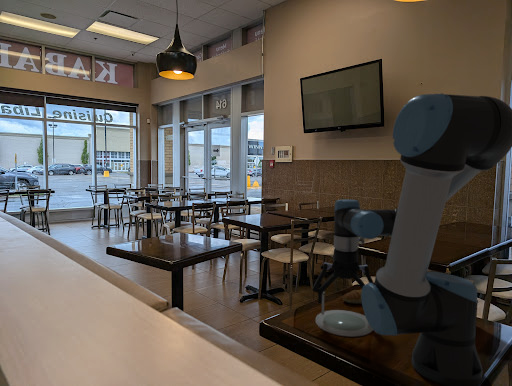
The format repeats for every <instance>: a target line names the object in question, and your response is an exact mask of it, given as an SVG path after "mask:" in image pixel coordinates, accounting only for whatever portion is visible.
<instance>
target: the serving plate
mask: <svg viewBox="0 0 512 386" xmlns="http://www.w3.org/2000/svg"><path fill="white" fill-rule="evenodd" d="M315 324H316V325H317V327H318V328H319V329H321V330H323V332H327V333H329V334H332V335H336V336H342V337H351V338H353V337H362V336H366V335H369V334H371V333H372V332H373V331H374V330H373V329H372V327H371V326H370V325H369V323H368V321H367V319H366V318H365V314H362V313H359V312H354V311H350V310H343V309H342V310H341V309H332V310H331V309H330V310H324V315H322V312H320V313H318V314H317V315H316V317H315Z"/></svg>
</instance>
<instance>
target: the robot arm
mask: <svg viewBox="0 0 512 386" xmlns="http://www.w3.org/2000/svg"><path fill="white" fill-rule="evenodd" d="M395 118H396V119H395V121H394V125H393V129H392V139H393V140H394V141H393V143H392V144H393V146H394V148H395V151H396V152H397V153H398V154H400V159H399V160H400V163H401V164H402V165H403V167H404V168H405V171H404V173H405V174H404V177H403V181H402V187H401V191H400V196H399V201H398V206H397V208H393V209H392V208H390V209H385V208H384V209H361V207H360V201H359V200H357V199H343V198H342V199H337V200H336V201H335V203H334V211H333V213H334V217H333V218H334V223H333V224H334V225H333V228H334V229H333V232H334V233H333V248H334V249H333V262H332V263H330V262H329V263H328V262H327V261H324V262H323V265H322V269H321V271H320V273H319V275H318V276H317V278H316V280H315V282H314V284H313V285H312V286H313V287H312V291H313V292H314V293H317V296H318V298H317V303H318V304H321V313H322V315H324V312H325V291H326V290H327V289H328V288H329V286H331V285H332V284H333V282H334V281H335V280H337V279H338V278H339V279H341V280H342V279H348V280H351V279H354V281H355V282H356V283H357V284H358V285H359V286H360V288H361V289H362V293H361V299H362V303H361V305H362V309H363V313H364V316H365V318H366V319H367V321H368V323H369V325H370V326H371V327H372V329H373V331H374V332H375V333H376V334H378V335H379V336H380V335H381V336H393V337H395V336H399V335H411V334H419V336H418V338H417V341H416V344H415V346H414V347H413V350H412V353H411V365H412V367H413V368H414V370H415V371H416V373H417V372H418V374H419V375H421V376H422V377H424V378H426V379H427V380H429V381H432V382H434V383H437V384H440V385H443V386H479V385H480V384H481V383H482V382H483V366H482V363H481V360H480V357H479V354H478V350H477V347H476V334H477V331H476V329H477V316H478V315H477V314H478V303H479V300H478V288H477V286H476V284H475V283H474V284H473V283H472V282H470V281H468V280H469V279H467V278H463V277H460V276H457V275H455V274H454V275H453V274H450V273H445V272H439V271H429V270H428V269H429V266H430V262H431V258H432V255H433V251H434V247H435V244H436V239H437V237H438V236H437V235H438V232H439V229H440V228H439V227H440V225H441V220H442V217H443V214H444V209H445V207H446V206H445V205H446V203H447V202H448V201H449V200H450V199H451V198H452V197H453V196H454V195H456V193H458V192H459V191H461V189H462V188H463V187H465V186H466V185H467V184H468V183H470V181H471V180H473V179H474V177H476V176H477V175H478V174H479V173H481V172H484V171H485V172H486V171H489V170H491V169H492V168H493V167H495V166H496V165H497V164H498V163H500V162H501V161H502V159H504V158H505V156H507V155H508V153H509V152H510V150H511V149H512V107H510V105H509V104H507V103H506V102H504V101H503V100H501V99H499V98H496V97H493V96H489V95H488V96H487V95H479V96H478V95H462V94H461V95H460V94H448V93H447V94H445V93H443V92H442V93H427V94H425V93H424V94H419V95H416V96H414V97H412V98H411V99H409V100H408V101H407V103H406V104H404V105H403V107H402V108H401V110H400V111H399V112H398V114H397V117H395ZM383 236H384V237H385V236H386V237H387V236H391V237H390V242H389V246H388V250H387V255H386V259H385V260H386V261H385V265H384V266H382V267H380V268H378V269H377V271H376V274H375V278H374V280H373V279H372V276H371V274H370V270H369V269H370V268H369V266H368V264H367V263H364V264H363V265H359V250H358V249H359V248H360V247H359V244H360V243H359V241H360V239H359V238H361V239H366V240H372V239H375V238H377V237H383ZM330 269H332V271H334V272H332V273H331V275H330V276H329V277H328V278H327V279H326V280H325V281H324V283H322V281H323V280H324V277H326V274H327V271H329V270H330ZM360 270H361V272H362V273H364V275H365V276H366V279H367V281H368V282H367V283H366V284H365V282H364V281H363V280H362V279H361V278H360V276H359V274H357V273H358V272H359V271H360ZM466 279H467V280H466ZM321 283H322V285H321Z"/></svg>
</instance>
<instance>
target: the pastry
mask: <svg viewBox="0 0 512 386" xmlns="http://www.w3.org/2000/svg"><path fill="white" fill-rule="evenodd" d="M361 293H362V288H361V289H353V290H351V291H350V292H347V293H345V294H343V296H342V300H343V301H345V302H346V303H349V304H361V305H362V299H361Z"/></svg>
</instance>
